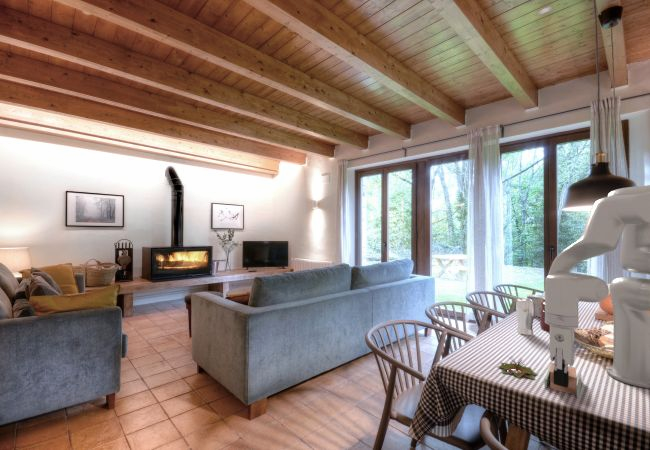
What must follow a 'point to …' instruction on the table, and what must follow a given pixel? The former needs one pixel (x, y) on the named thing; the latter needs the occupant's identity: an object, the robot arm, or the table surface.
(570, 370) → the terracotta block
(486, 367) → the table surface
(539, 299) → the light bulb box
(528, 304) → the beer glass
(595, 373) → the table surface
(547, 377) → the pair of grey-green bars
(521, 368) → the green twiggy clump
